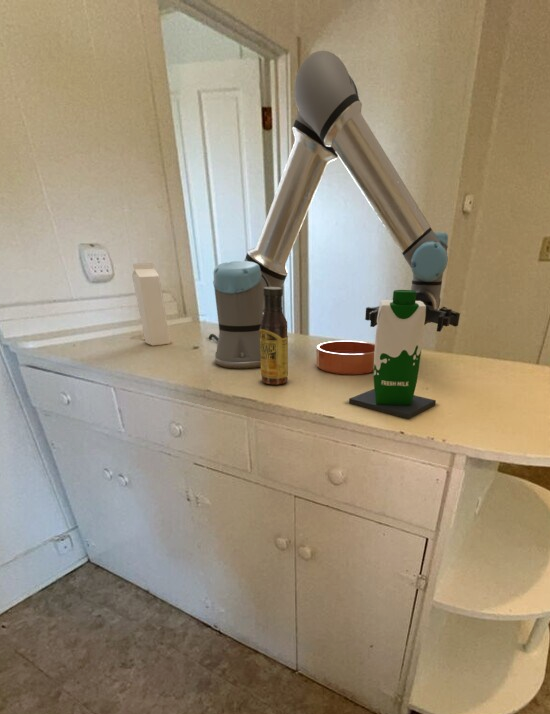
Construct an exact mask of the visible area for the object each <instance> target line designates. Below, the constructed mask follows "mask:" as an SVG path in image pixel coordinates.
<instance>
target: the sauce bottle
mask: <svg viewBox="0 0 550 714" xmlns="http://www.w3.org/2000/svg"><path fill="white" fill-rule="evenodd" d="M263 292H264V293H263V294H264V296H265V308H264V313H263V317H262V321H261V325H260V357H261V367H260V375H261V381H262V383H264V384H266V385H271V386H277V385H283V384H286V383H287V382H288V374H289V336H288V321H287V319H286V317H285V315H284V311H283V295H284V288H283V289H282V288H280V287H264V290H263Z"/></svg>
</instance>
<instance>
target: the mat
mask: <svg viewBox="0 0 550 714" xmlns="http://www.w3.org/2000/svg"><path fill="white" fill-rule="evenodd" d="M436 402H437V400H436V399H431V398H427V397H423V396H420V395H415V394H414V396H413V400H412V404H411V406H410V405H382V404H376V399H375V389H374V388H372V389H370V390H367V391H364V392H362V393H360V394H357V395H354V396H352V397H349V399H348V403H349V404H351V405H354V406H359V407H361V408H366V409H369V410H374V411H375V412H376V411H377V412H380V413H384V414H388V415H392V416H395V417H398V418H403V419H406V420H409V419H412V418H413V417H415V416H417V415H419V414H421V413H423V412H425V411H426V410H429V409H430V408H432V407H434V406H436Z"/></svg>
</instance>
